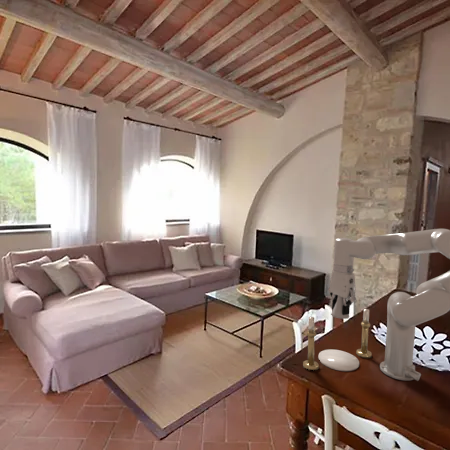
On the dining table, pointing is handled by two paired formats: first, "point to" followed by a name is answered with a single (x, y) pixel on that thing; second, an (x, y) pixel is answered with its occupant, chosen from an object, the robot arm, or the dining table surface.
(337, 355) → the cream plate
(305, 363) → the near candlestick
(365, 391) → the dining table surface
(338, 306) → the flask
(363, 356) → the far candlestick
